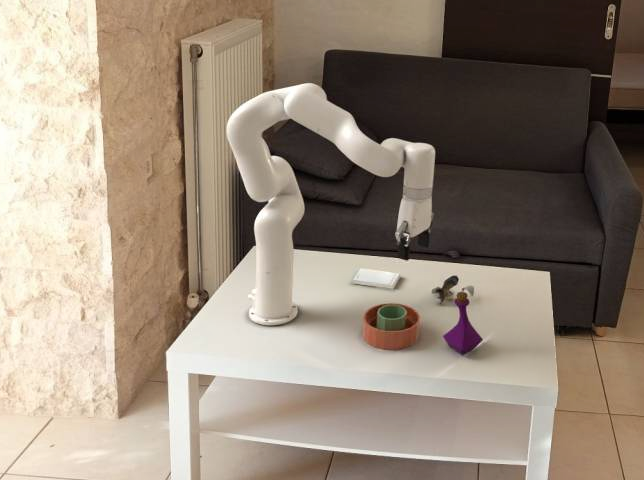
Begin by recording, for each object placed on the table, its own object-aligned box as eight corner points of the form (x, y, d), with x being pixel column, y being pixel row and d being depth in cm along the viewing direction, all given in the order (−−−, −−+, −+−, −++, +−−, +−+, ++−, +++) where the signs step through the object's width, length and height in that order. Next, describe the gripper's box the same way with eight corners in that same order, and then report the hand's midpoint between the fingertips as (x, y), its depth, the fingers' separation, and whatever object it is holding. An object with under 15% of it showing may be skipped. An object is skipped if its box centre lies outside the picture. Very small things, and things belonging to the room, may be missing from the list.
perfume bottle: (441, 347, 189) (446, 284, 185) (462, 338, 194) (468, 276, 190) (460, 360, 184) (466, 295, 180) (482, 351, 189) (488, 287, 185)
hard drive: (352, 279, 217) (393, 284, 216) (361, 267, 225) (400, 272, 224) (352, 284, 218) (393, 289, 217) (360, 272, 226) (399, 277, 224)
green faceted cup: (370, 335, 191) (371, 312, 189) (388, 323, 197) (390, 301, 196) (392, 345, 187) (394, 322, 185) (410, 333, 193) (412, 311, 192)
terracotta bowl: (350, 337, 189) (351, 318, 188) (387, 315, 202) (388, 297, 201) (394, 358, 182) (395, 338, 181) (429, 334, 195) (430, 315, 193)
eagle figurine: (460, 303, 210) (464, 284, 218) (447, 285, 208) (452, 266, 216) (437, 312, 212) (442, 293, 220) (425, 294, 210) (430, 275, 218)
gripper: (422, 179, 197) (418, 238, 201) (386, 197, 182) (382, 260, 185) (446, 185, 194) (442, 245, 198) (412, 204, 179) (407, 268, 182)
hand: (413, 252), depth 191 cm, fingers open, 9 cm apart
